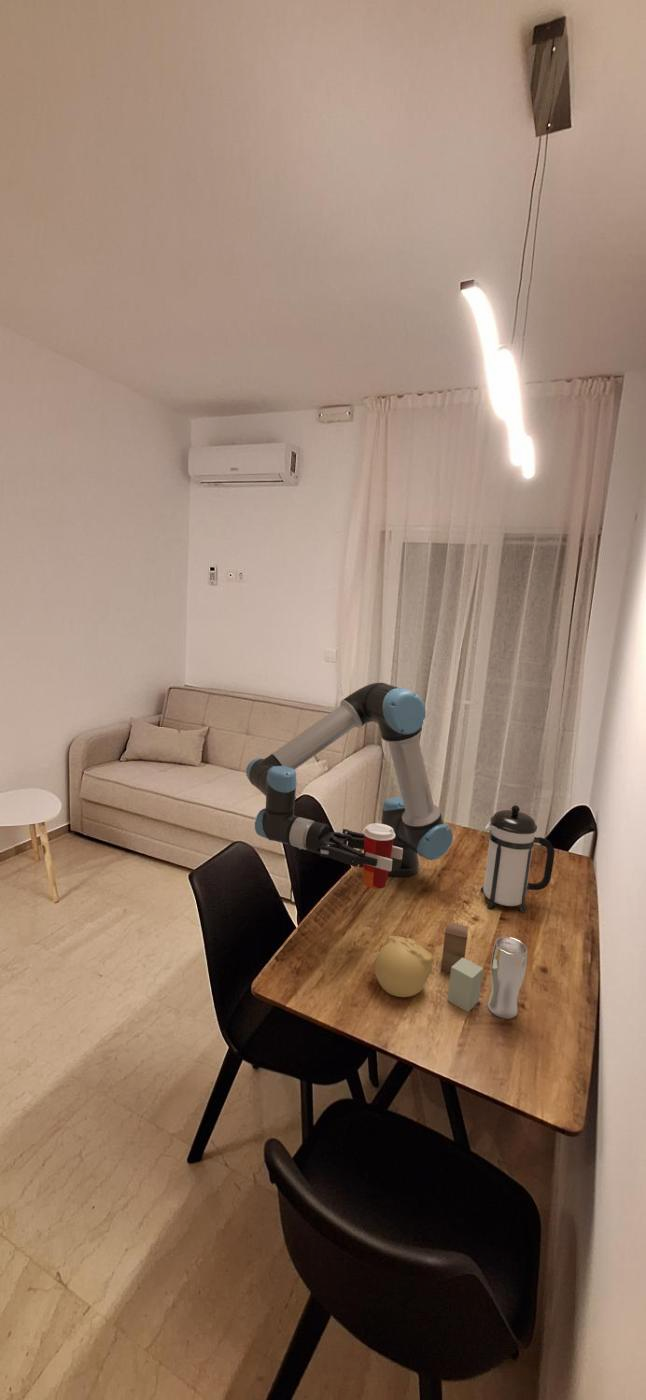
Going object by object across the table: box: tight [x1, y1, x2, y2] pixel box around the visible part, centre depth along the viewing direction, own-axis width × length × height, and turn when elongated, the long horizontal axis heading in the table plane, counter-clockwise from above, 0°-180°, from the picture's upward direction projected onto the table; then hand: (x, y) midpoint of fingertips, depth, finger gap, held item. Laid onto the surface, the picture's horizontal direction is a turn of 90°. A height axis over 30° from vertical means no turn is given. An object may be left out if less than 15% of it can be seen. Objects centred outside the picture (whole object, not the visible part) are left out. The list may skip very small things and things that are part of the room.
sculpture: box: [374, 935, 435, 998], centre depth 125 cm, size 12×12×11 cm
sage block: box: [446, 957, 484, 1013], centre depth 123 cm, size 5×5×8 cm
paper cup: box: [362, 822, 395, 890], centre depth 135 cm, size 8×8×14 cm
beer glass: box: [487, 936, 528, 1020], centre depth 120 cm, size 7×7×15 cm
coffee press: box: [480, 805, 555, 914], centre depth 165 cm, size 17×16×30 cm
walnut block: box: [440, 921, 469, 975], centre depth 133 cm, size 5×5×10 cm
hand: (396, 859), depth 133 cm, fingers closed on paper cup, 7 cm apart
